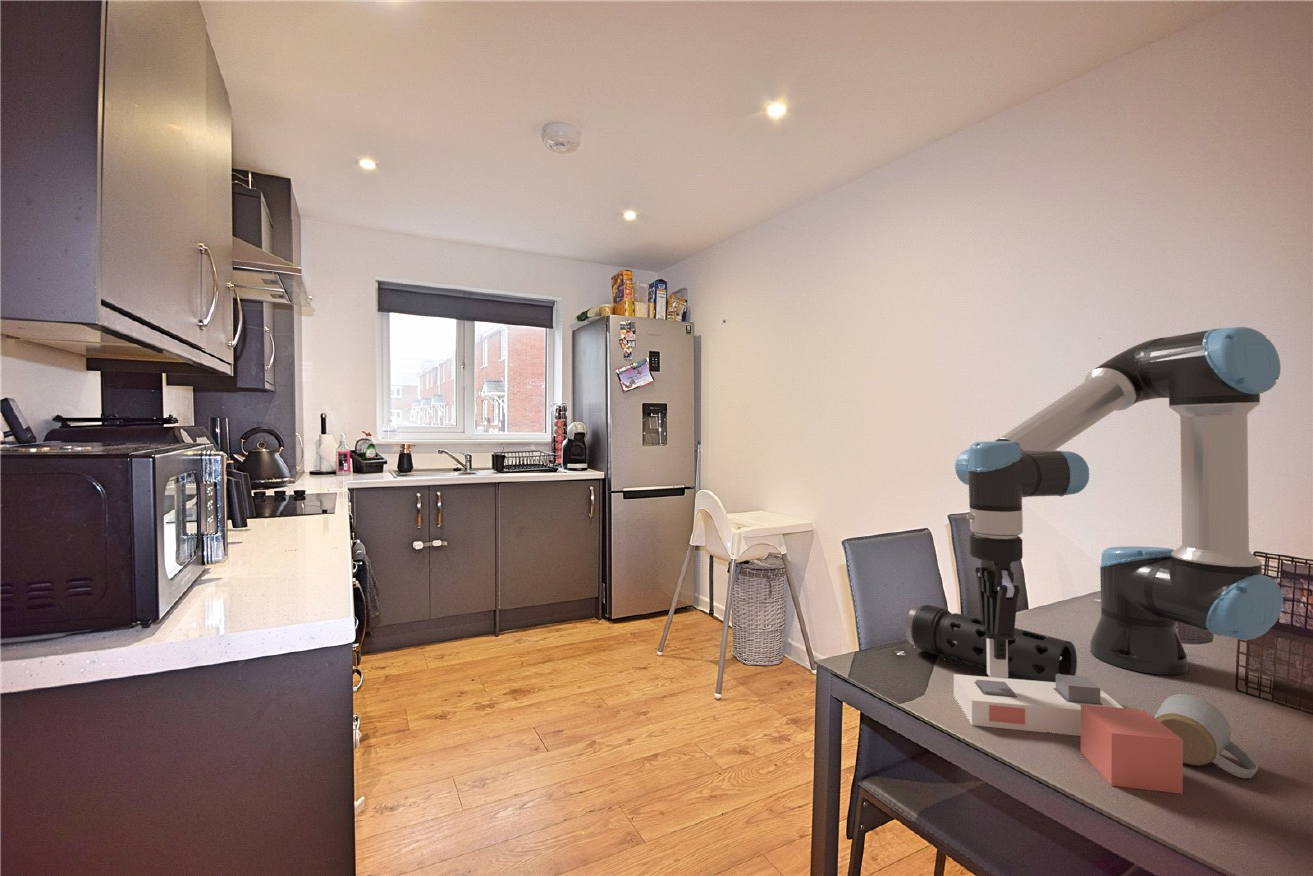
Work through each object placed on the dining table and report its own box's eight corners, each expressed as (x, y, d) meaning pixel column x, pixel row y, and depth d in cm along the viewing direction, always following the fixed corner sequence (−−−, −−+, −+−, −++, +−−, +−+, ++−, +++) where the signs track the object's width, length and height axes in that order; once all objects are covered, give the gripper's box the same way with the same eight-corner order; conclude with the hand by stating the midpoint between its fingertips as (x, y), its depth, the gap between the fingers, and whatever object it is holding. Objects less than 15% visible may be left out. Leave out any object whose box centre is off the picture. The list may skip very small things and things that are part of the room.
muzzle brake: (1056, 707, 97) (1056, 646, 97) (902, 655, 119) (902, 606, 119) (1077, 691, 102) (1077, 634, 102) (926, 645, 125) (926, 598, 125)
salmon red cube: (1144, 758, 81) (1144, 710, 81) (1182, 793, 73) (1183, 740, 73) (1080, 752, 83) (1080, 704, 83) (1111, 785, 75) (1111, 733, 75)
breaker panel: (1096, 709, 95) (1096, 685, 95) (1132, 741, 86) (1132, 715, 85) (953, 696, 100) (953, 674, 100) (972, 726, 90) (972, 701, 90)
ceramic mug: (1147, 754, 82) (1148, 702, 82) (1160, 735, 87) (1162, 685, 87) (1253, 791, 74) (1254, 733, 74) (1260, 768, 79) (1262, 713, 79)
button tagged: (1004, 705, 96) (1004, 681, 96) (1015, 718, 92) (1015, 693, 92) (976, 702, 97) (976, 679, 97) (985, 715, 93) (985, 691, 93)
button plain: (1085, 700, 93) (1085, 676, 93) (1100, 713, 89) (1100, 688, 89) (1055, 698, 94) (1055, 674, 94) (1068, 710, 90) (1068, 685, 90)
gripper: (958, 527, 101) (960, 658, 102) (984, 541, 88) (986, 691, 89) (1005, 527, 100) (1007, 661, 100) (1038, 542, 87) (1039, 695, 87)
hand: (997, 675), depth 94 cm, fingers closed
